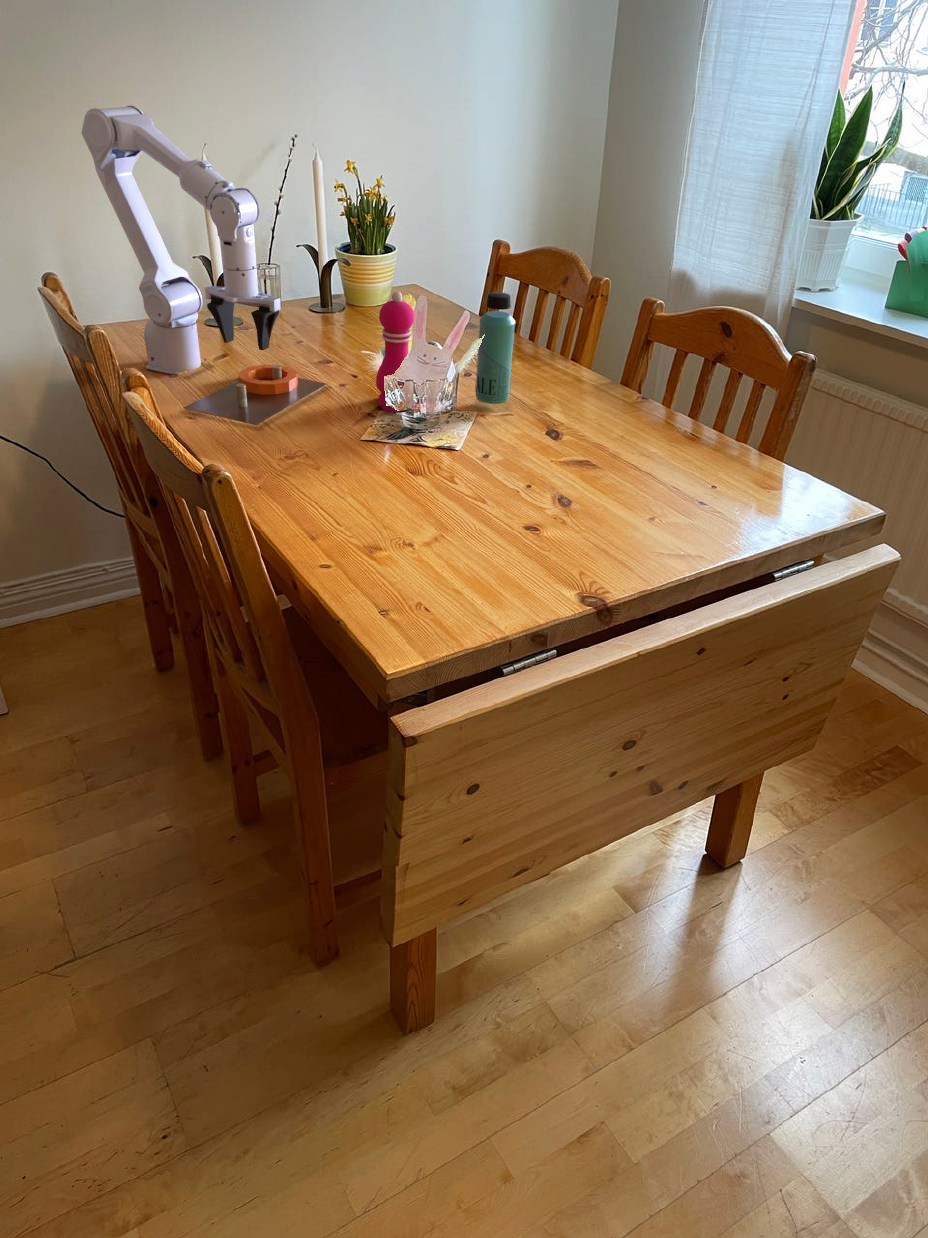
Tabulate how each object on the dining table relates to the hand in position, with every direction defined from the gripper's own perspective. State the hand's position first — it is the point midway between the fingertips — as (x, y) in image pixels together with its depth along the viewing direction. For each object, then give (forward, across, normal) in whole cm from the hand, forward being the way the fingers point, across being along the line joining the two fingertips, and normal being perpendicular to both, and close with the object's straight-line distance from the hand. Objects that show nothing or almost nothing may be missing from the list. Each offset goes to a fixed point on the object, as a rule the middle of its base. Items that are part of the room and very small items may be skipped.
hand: (246, 344), depth 162 cm
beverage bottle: (+7, +43, +14) cm, 46 cm away
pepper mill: (+7, +28, +4) cm, 30 cm away
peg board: (+7, +6, -6) cm, 11 cm away
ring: (+6, +4, 0) cm, 8 cm away
